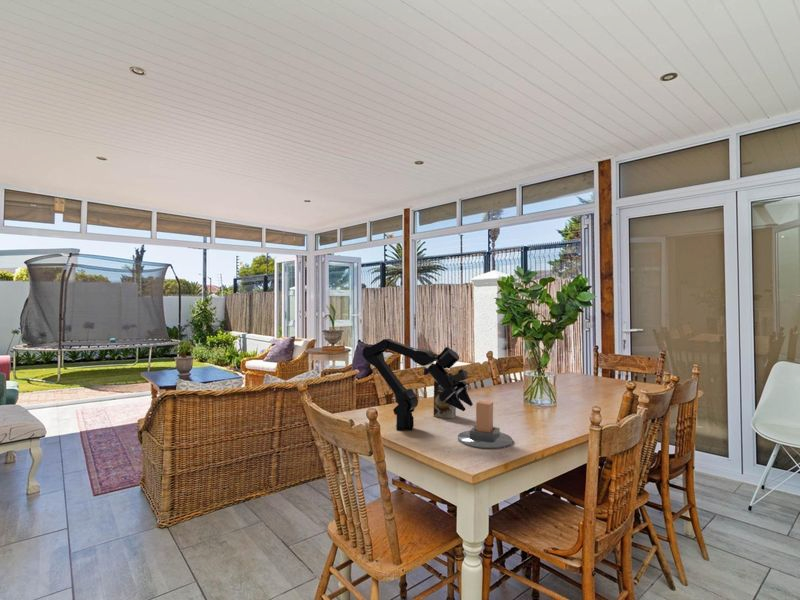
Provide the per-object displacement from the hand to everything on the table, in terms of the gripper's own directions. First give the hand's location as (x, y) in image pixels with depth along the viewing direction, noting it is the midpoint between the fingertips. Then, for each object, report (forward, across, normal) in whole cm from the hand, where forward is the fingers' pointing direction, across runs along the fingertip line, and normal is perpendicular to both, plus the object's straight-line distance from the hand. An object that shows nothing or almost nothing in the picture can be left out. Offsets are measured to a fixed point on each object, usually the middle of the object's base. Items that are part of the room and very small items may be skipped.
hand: (468, 407), depth 165 cm
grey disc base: (+12, 0, +4) cm, 13 cm away
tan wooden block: (+12, 0, +3) cm, 12 cm away
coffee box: (-5, +27, +22) cm, 35 cm away
